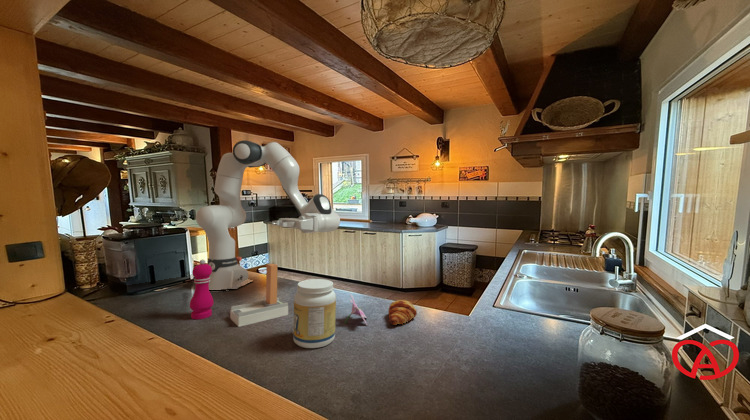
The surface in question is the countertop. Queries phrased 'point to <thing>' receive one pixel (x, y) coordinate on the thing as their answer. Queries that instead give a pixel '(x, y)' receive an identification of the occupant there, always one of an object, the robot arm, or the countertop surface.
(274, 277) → the lever
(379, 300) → the countertop surface
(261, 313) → the white base plate
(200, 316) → the pepper mill
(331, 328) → the supplement tub
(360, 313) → the lily
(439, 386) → the countertop surface
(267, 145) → the robot arm
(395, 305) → the croissant
